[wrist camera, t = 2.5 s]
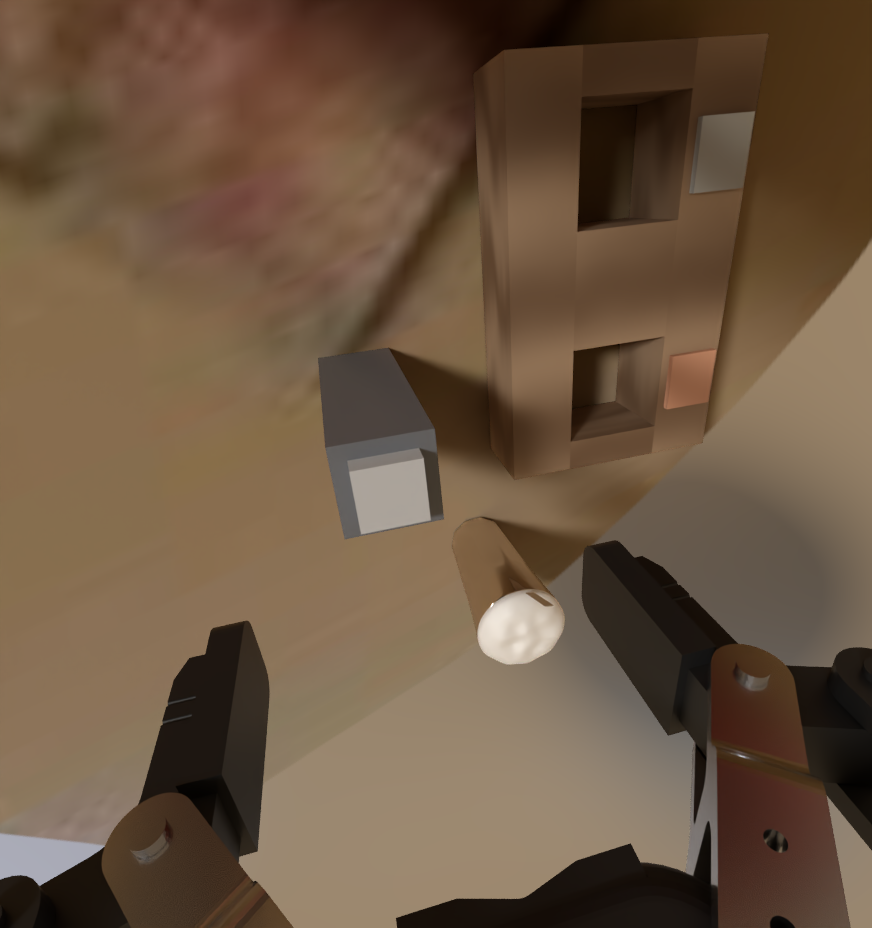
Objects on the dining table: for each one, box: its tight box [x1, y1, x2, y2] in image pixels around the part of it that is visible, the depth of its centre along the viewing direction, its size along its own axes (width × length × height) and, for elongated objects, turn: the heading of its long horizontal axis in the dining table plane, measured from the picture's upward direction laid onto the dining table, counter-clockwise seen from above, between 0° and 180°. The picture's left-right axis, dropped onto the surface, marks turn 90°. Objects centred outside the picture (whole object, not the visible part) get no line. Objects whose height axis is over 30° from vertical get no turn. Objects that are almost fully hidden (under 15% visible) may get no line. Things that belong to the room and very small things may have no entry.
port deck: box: [473, 33, 769, 480], centre depth 26 cm, size 18×11×4 cm, turn 5°
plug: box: [318, 348, 444, 539], centre depth 22 cm, size 4×4×12 cm
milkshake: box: [452, 517, 565, 664], centre depth 29 cm, size 4×5×10 cm
